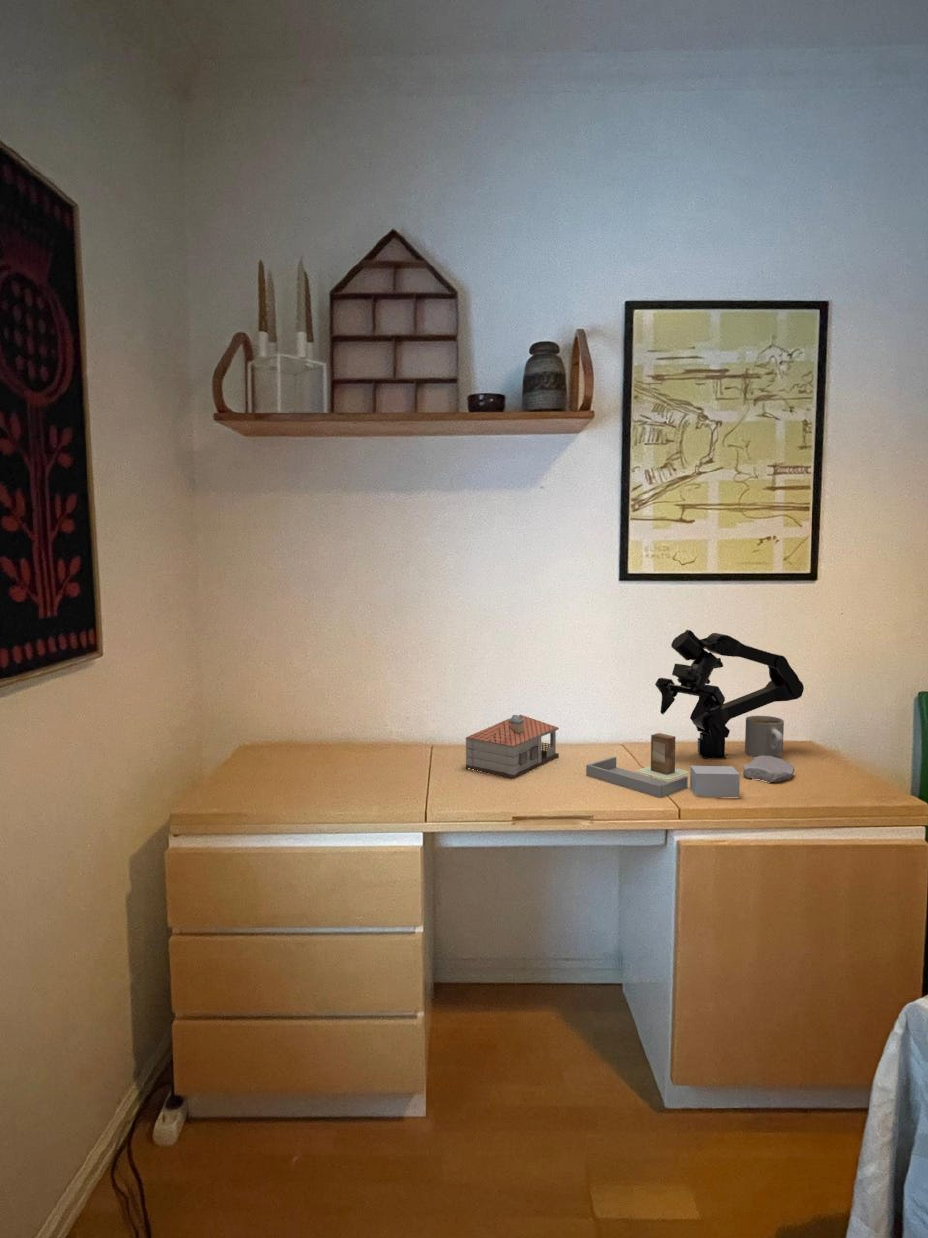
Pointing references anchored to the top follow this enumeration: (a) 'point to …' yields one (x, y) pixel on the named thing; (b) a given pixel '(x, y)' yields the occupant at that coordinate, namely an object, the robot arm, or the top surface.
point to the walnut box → (663, 753)
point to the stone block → (768, 769)
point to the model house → (511, 747)
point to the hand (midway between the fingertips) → (676, 716)
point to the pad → (662, 776)
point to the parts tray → (634, 779)
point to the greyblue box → (714, 781)
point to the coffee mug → (764, 736)
